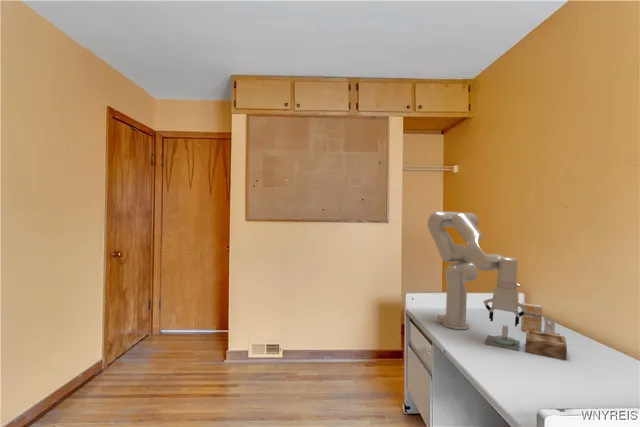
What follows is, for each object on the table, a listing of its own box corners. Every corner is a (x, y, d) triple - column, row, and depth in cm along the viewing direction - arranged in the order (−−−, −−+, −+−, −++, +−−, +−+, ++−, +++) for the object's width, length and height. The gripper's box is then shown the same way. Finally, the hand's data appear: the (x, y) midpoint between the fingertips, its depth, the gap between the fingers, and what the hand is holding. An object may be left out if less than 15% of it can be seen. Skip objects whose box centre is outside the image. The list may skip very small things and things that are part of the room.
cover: (494, 337, 163) (495, 323, 163) (515, 341, 159) (516, 326, 159) (493, 343, 156) (493, 328, 156) (515, 347, 152) (515, 332, 152)
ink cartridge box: (549, 336, 169) (549, 316, 169) (559, 345, 158) (560, 323, 158) (543, 336, 170) (544, 315, 170) (553, 344, 159) (554, 322, 159)
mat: (484, 344, 156) (484, 343, 156) (487, 335, 167) (487, 334, 167) (518, 350, 149) (518, 349, 149) (519, 341, 160) (519, 340, 160)
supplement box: (522, 331, 176) (523, 304, 176) (520, 328, 180) (521, 302, 180) (541, 333, 173) (542, 306, 173) (539, 330, 177) (540, 304, 177)
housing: (525, 351, 148) (526, 337, 148) (525, 343, 159) (526, 329, 159) (566, 360, 141) (566, 344, 141) (563, 350, 151) (564, 336, 151)
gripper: (529, 286, 157) (526, 325, 157) (486, 280, 165) (483, 316, 166) (529, 290, 150) (525, 330, 151) (484, 283, 159) (481, 321, 159)
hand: (503, 323), depth 158 cm, fingers open, 9 cm apart
